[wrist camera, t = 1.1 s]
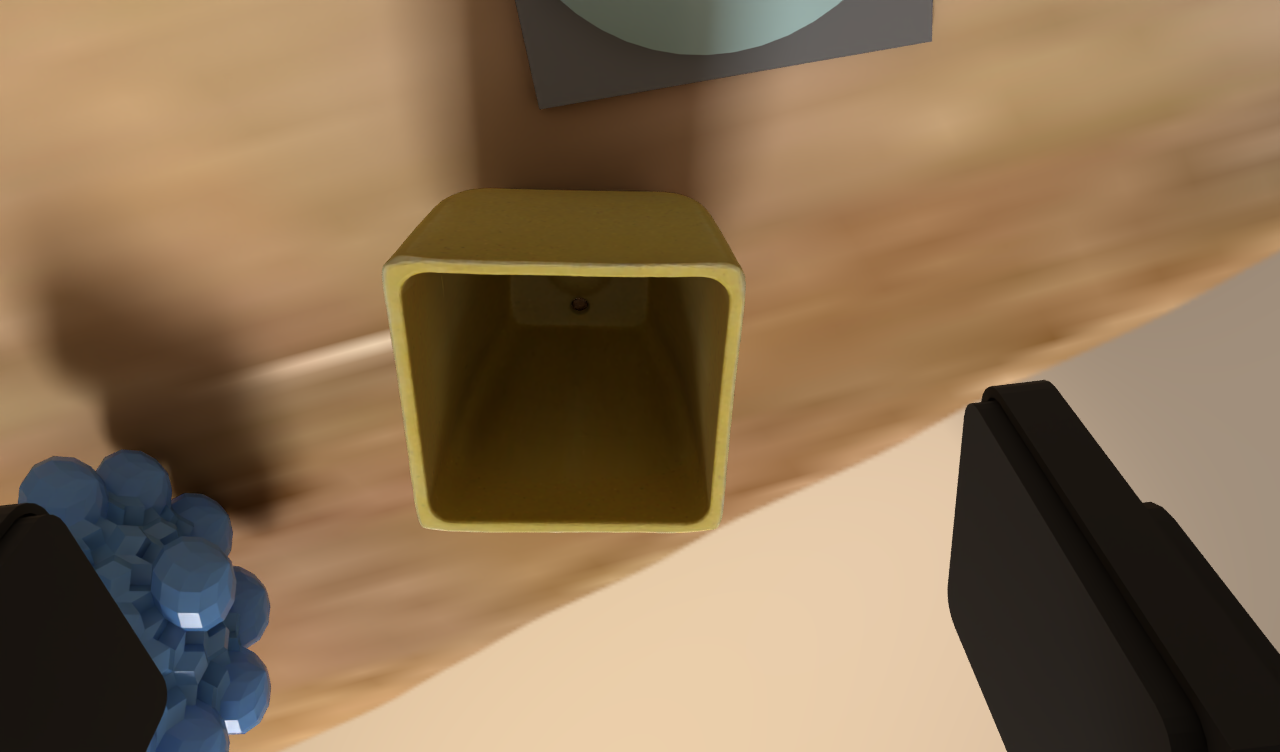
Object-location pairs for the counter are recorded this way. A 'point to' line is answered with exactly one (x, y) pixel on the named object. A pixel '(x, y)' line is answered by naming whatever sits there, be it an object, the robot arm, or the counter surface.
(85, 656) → the robot arm
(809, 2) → the lid
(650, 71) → the mat
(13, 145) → the counter surface
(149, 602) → the grapes
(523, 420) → the flower pot
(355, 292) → the counter surface
